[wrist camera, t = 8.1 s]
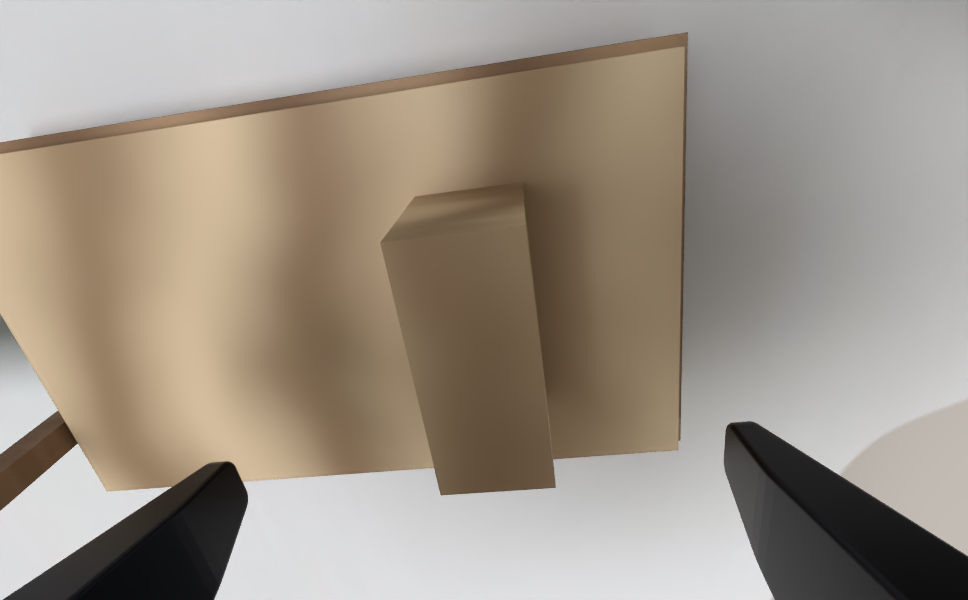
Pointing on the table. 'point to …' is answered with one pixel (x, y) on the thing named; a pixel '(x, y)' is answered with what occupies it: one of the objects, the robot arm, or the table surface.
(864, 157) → the table surface
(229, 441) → the lid
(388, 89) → the toolbox
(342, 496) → the table surface
